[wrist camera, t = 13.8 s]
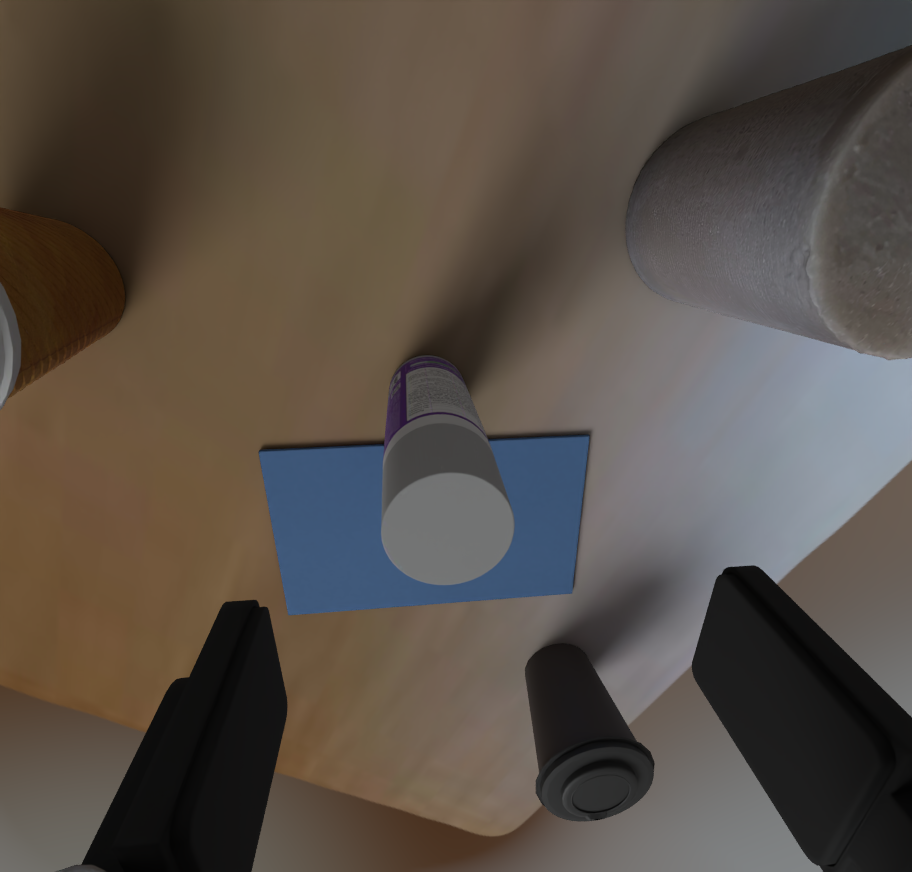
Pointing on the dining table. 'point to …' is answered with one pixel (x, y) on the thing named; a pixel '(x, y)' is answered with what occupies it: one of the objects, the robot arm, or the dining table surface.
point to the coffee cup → (582, 739)
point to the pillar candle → (791, 210)
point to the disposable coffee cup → (50, 296)
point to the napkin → (360, 512)
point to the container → (440, 479)
